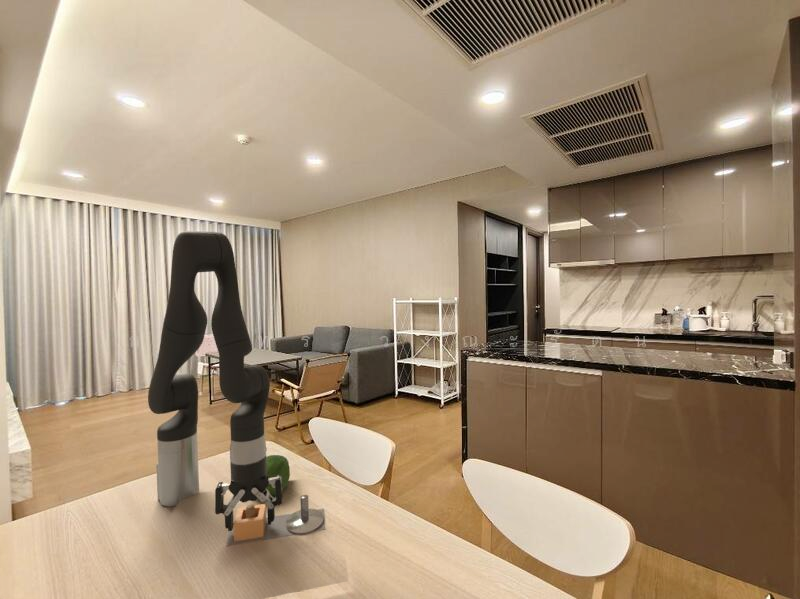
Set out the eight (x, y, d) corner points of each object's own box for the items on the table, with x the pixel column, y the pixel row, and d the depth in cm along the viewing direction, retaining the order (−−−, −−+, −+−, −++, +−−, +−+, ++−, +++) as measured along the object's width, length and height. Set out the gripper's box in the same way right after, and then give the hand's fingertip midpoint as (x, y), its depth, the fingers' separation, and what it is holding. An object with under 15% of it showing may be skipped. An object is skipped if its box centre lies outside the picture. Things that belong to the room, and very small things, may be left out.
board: (225, 552, 79) (225, 546, 79) (233, 529, 87) (232, 522, 87) (325, 535, 84) (325, 529, 84) (323, 514, 92) (323, 508, 92)
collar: (234, 541, 81) (233, 523, 80) (239, 524, 86) (238, 507, 86) (263, 536, 82) (262, 519, 82) (266, 520, 88) (265, 503, 88)
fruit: (267, 476, 111) (266, 443, 111) (299, 477, 110) (298, 444, 110) (241, 506, 96) (240, 469, 95) (279, 508, 95) (278, 470, 95)
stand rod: (246, 533, 83) (245, 509, 83) (247, 528, 85) (246, 505, 85) (254, 532, 84) (253, 508, 83) (255, 527, 85) (255, 503, 85)
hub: (284, 537, 82) (284, 510, 82) (286, 513, 90) (286, 489, 90) (324, 530, 84) (323, 504, 84) (322, 508, 92) (322, 484, 92)
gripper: (209, 467, 78) (212, 542, 79) (280, 458, 81) (282, 530, 82) (218, 452, 85) (220, 520, 86) (282, 444, 89) (284, 510, 89)
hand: (250, 525), depth 84 cm, fingers open, 8 cm apart
